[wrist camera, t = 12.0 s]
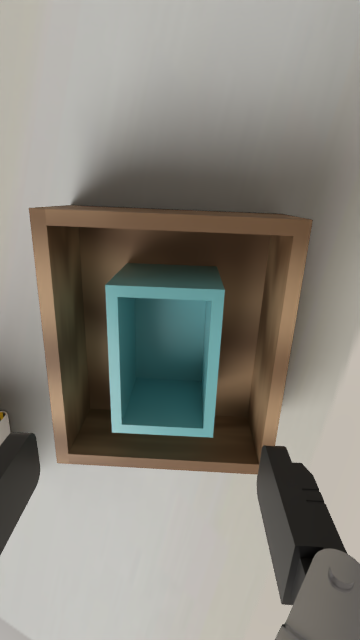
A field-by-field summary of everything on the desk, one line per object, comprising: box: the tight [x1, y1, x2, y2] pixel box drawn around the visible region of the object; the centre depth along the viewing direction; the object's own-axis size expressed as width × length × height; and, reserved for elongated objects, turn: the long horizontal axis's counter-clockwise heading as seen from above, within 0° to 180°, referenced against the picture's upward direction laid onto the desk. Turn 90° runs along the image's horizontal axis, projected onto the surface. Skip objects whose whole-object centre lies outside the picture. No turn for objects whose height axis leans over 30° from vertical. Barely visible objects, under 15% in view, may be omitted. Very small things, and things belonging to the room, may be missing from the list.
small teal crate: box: [105, 263, 225, 438], centre depth 21 cm, size 9×6×6 cm, turn 178°
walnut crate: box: [29, 205, 313, 474], centre depth 22 cm, size 16×14×6 cm
